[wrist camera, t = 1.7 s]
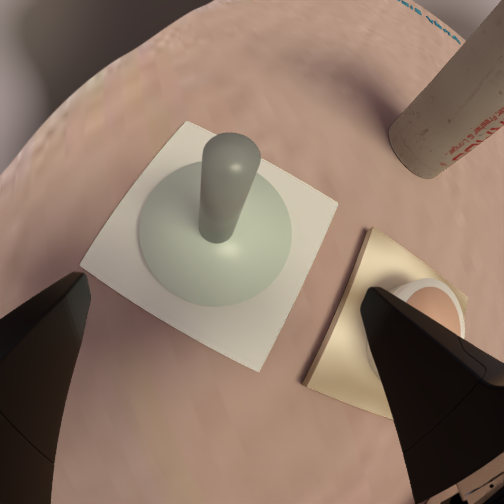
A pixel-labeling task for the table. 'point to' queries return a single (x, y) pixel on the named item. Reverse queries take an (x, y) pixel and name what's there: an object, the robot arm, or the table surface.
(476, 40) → the thermos bottle
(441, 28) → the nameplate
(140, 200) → the mat
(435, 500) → the teacup with lid
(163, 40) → the table surface
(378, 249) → the board
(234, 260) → the lid
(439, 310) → the bowl
